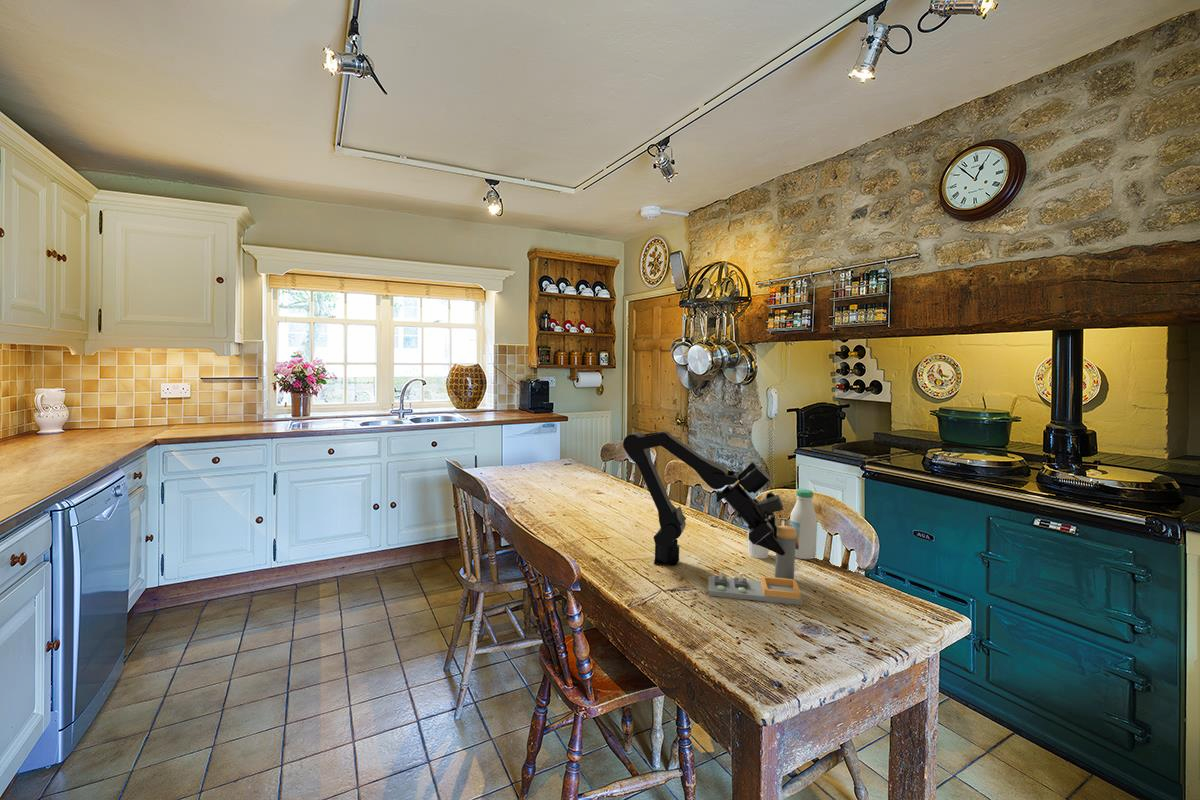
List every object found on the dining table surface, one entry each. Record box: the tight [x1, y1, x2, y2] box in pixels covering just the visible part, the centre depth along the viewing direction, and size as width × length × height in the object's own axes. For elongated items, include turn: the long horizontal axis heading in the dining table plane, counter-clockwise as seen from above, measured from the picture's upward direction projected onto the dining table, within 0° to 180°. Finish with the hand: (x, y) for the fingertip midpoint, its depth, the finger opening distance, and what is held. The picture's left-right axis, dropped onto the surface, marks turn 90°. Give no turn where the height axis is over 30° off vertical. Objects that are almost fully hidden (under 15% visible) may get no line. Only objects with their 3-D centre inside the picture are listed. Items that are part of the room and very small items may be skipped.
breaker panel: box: [707, 570, 803, 606], centre depth 129 cm, size 22×9×4 cm, turn 79°
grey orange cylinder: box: [774, 525, 796, 580], centre depth 137 cm, size 5×5×14 cm
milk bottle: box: [789, 488, 818, 560], centre depth 155 cm, size 8×8×20 cm
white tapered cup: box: [746, 529, 770, 560], centre depth 155 cm, size 7×7×7 cm
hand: (784, 548), depth 137 cm, fingers open, 9 cm apart
